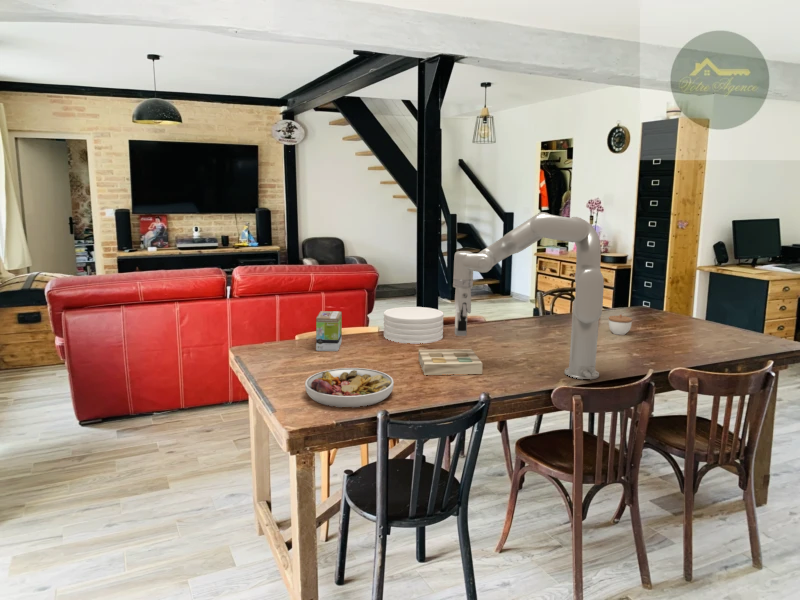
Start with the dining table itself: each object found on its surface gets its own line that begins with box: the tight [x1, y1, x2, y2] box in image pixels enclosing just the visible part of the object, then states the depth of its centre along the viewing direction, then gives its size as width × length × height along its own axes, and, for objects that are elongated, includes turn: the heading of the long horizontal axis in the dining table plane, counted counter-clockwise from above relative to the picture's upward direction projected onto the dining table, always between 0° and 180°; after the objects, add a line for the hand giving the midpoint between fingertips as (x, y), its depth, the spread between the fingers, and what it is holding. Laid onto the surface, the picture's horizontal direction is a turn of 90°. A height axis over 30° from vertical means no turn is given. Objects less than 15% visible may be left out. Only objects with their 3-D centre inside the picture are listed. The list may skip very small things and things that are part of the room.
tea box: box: [315, 310, 343, 352], centre depth 263 cm, size 15×10×15 cm
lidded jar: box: [608, 314, 633, 336], centre depth 291 cm, size 11×11×9 cm
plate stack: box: [383, 306, 444, 345], centre depth 283 cm, size 28×28×12 cm
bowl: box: [304, 367, 394, 408], centre depth 205 cm, size 30×30×8 cm
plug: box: [454, 309, 469, 337], centre depth 235 cm, size 4×4×10 cm
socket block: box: [418, 348, 483, 376], centre depth 235 cm, size 20×22×5 cm
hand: (460, 328), depth 235 cm, fingers closed on plug, 4 cm apart
